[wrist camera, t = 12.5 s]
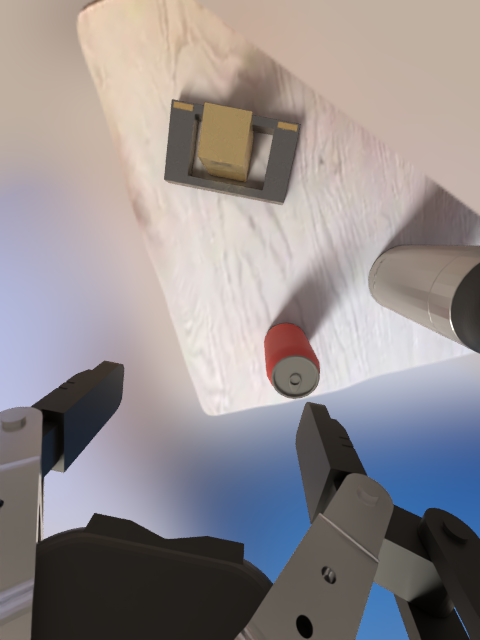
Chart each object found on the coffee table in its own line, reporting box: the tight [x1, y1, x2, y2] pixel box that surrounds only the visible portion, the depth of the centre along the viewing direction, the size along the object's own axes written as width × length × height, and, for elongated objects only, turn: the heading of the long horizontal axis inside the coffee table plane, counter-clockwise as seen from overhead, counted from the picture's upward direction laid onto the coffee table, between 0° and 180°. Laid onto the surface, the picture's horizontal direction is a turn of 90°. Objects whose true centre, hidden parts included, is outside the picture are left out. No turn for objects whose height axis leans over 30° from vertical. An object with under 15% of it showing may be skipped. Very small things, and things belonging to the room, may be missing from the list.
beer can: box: [264, 323, 320, 399], centre depth 37 cm, size 7×7×12 cm
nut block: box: [198, 102, 253, 182], centre depth 32 cm, size 5×5×8 cm
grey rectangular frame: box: [164, 99, 301, 205], centre depth 35 cm, size 16×9×2 cm, turn 79°
